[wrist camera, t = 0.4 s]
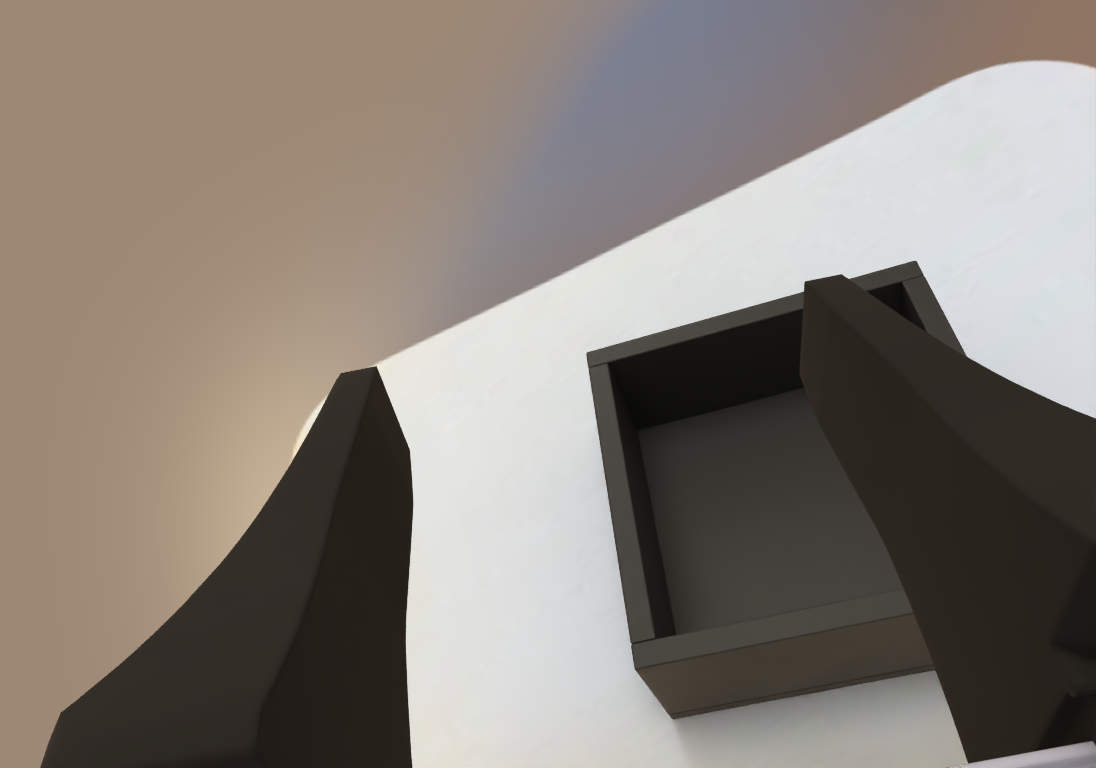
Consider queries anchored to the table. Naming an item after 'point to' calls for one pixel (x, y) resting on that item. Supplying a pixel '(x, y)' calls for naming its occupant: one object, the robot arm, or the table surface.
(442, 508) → the table surface
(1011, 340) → the table surface
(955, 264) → the table surface
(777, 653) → the open storage bin
